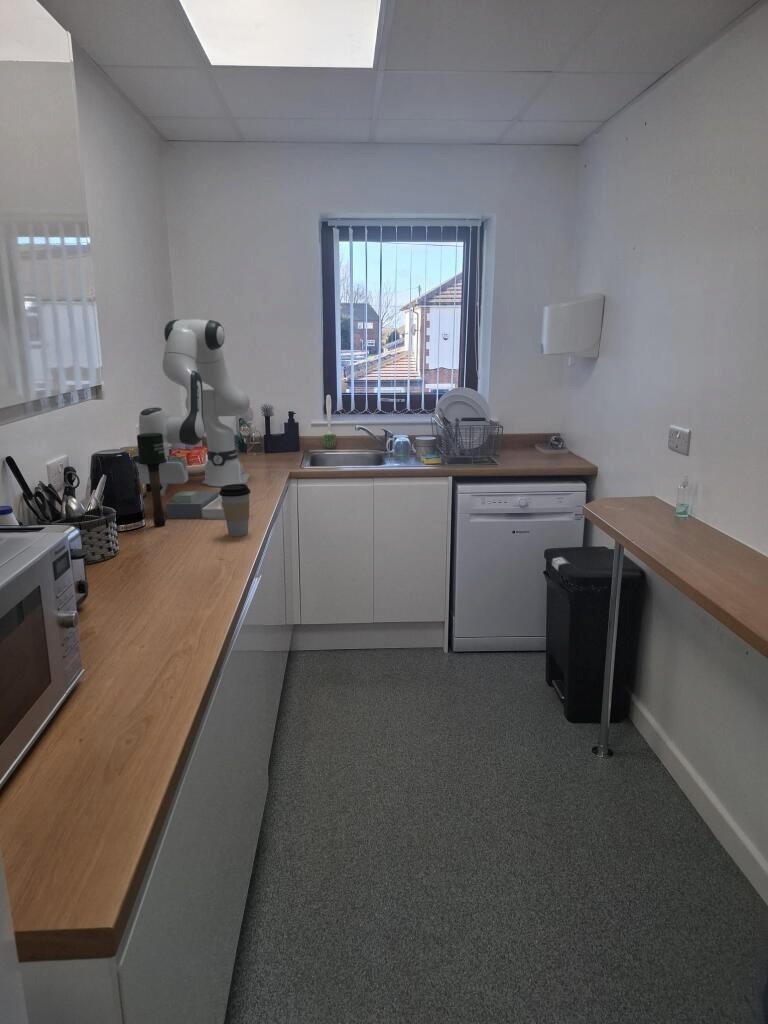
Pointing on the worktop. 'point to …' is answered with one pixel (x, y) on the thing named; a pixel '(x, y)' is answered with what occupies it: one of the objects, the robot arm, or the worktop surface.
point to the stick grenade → (153, 468)
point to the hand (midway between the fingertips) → (160, 495)
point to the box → (213, 510)
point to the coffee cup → (236, 508)
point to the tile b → (185, 497)
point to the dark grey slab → (191, 506)
